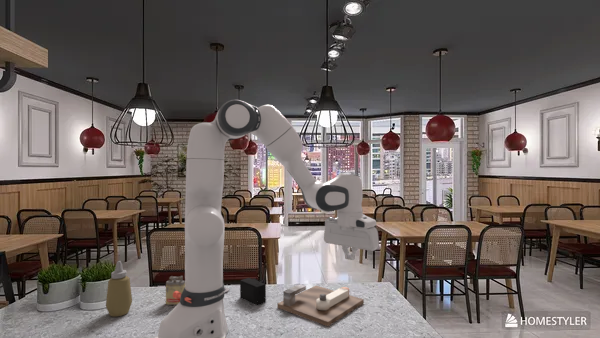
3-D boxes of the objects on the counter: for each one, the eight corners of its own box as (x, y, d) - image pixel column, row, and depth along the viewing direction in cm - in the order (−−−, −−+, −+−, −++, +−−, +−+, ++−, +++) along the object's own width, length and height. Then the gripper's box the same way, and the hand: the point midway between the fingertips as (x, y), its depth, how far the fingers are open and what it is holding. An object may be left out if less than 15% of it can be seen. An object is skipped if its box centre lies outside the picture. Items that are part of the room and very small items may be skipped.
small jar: (164, 305, 121) (163, 277, 121) (168, 300, 125) (168, 274, 125) (183, 305, 121) (183, 278, 121) (187, 301, 125) (186, 274, 125)
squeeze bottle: (123, 306, 120) (123, 256, 120) (137, 311, 116) (137, 260, 116) (100, 315, 113) (100, 262, 113) (114, 320, 109) (113, 266, 109)
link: (324, 311, 111) (324, 304, 111) (313, 308, 114) (313, 300, 114) (352, 295, 125) (352, 288, 125) (341, 292, 128) (341, 286, 128)
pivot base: (328, 326, 105) (328, 307, 105) (277, 307, 119) (277, 290, 119) (363, 303, 123) (363, 286, 122) (316, 289, 137) (315, 274, 137)
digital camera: (268, 301, 125) (268, 282, 124) (257, 305, 121) (257, 286, 121) (251, 294, 132) (251, 276, 132) (240, 298, 128) (240, 279, 128)
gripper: (320, 217, 119) (320, 256, 119) (371, 224, 106) (372, 267, 106) (330, 215, 124) (330, 252, 124) (380, 221, 111) (380, 262, 111)
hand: (350, 259), depth 115 cm, fingers closed
